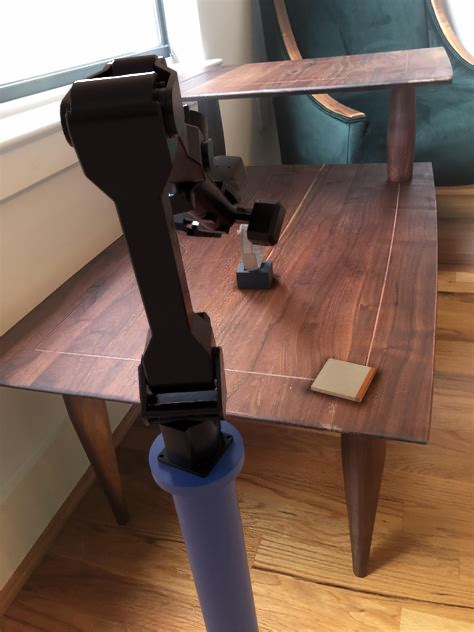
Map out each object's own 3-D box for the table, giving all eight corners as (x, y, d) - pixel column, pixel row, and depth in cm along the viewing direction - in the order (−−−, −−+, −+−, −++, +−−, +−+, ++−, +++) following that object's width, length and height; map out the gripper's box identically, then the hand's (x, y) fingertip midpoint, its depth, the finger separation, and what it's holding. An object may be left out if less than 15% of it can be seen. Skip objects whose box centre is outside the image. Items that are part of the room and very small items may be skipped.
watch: (275, 271, 97) (270, 213, 91) (268, 294, 91) (262, 232, 85) (244, 271, 98) (237, 213, 93) (235, 293, 92) (227, 233, 86)
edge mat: (360, 402, 66) (360, 398, 66) (311, 390, 69) (310, 386, 68) (376, 371, 70) (376, 368, 70) (329, 361, 73) (329, 357, 73)
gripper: (276, 145, 72) (311, 196, 85) (161, 141, 80) (209, 188, 94) (254, 224, 70) (293, 263, 84) (139, 211, 79) (192, 249, 92)
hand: (245, 238), depth 88 cm, fingers open, 9 cm apart
